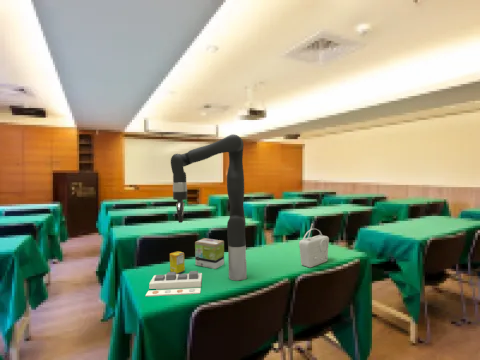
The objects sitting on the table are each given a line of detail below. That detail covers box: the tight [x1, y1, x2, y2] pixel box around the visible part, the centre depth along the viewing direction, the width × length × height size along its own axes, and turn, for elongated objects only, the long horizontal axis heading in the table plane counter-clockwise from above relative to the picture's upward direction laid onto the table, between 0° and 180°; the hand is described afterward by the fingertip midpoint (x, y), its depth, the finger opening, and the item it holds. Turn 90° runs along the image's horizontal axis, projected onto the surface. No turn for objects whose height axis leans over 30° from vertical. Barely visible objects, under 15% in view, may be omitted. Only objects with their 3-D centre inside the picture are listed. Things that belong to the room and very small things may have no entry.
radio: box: [298, 223, 330, 269], centre depth 164 cm, size 22×8×25 cm, turn 129°
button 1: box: [188, 270, 199, 279], centre depth 138 cm, size 4×4×3 cm
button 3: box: [165, 271, 176, 280], centre depth 137 cm, size 4×4×3 cm
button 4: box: [155, 274, 166, 281], centre depth 137 cm, size 4×4×3 cm
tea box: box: [194, 237, 225, 270], centre depth 165 cm, size 15×10×15 cm
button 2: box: [178, 273, 188, 280], centre depth 138 cm, size 4×4×3 cm
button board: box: [148, 272, 203, 290], centre depth 138 cm, size 25×11×3 cm, turn 95°
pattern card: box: [145, 287, 202, 297], centre depth 128 cm, size 25×5×1 cm, turn 95°
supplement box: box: [169, 250, 186, 274], centre depth 154 cm, size 6×6×11 cm
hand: (180, 222), depth 149 cm, fingers closed
